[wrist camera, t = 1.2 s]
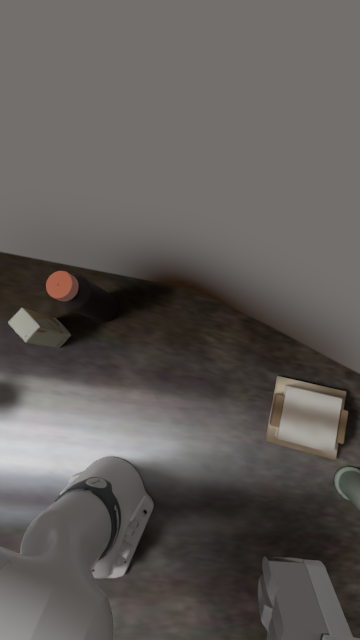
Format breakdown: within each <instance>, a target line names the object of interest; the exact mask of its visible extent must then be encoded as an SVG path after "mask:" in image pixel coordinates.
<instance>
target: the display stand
mask: <svg viewBox="0 0 360 640" xmlns="http://www.w3.org/2000/svg"><path fill="white" fill-rule="evenodd" d="M345 398H346V391H341V390H337V389H332V388H328V387H324V386H319V385H315V384H311V383H306V382H302V381H297V380H293V379H289V378H284V377H280V376H277V381H276V386H275V391H274V397H273V402H272V407H271V413H270V418H269V423H268V429H267V434H266V441H267V442H270V443H274V444H278V445H281V446H285V447H289V448H293V449H296V450H300V451H304V452H308V453H311V454H315V455H319V456H323V457H326V458H330V459H334V460H336V455H337V449H338V443H341V444H343V443H344V437H345V430H346V424H347V417H348V411H346V410H344V404H345Z"/></svg>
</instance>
